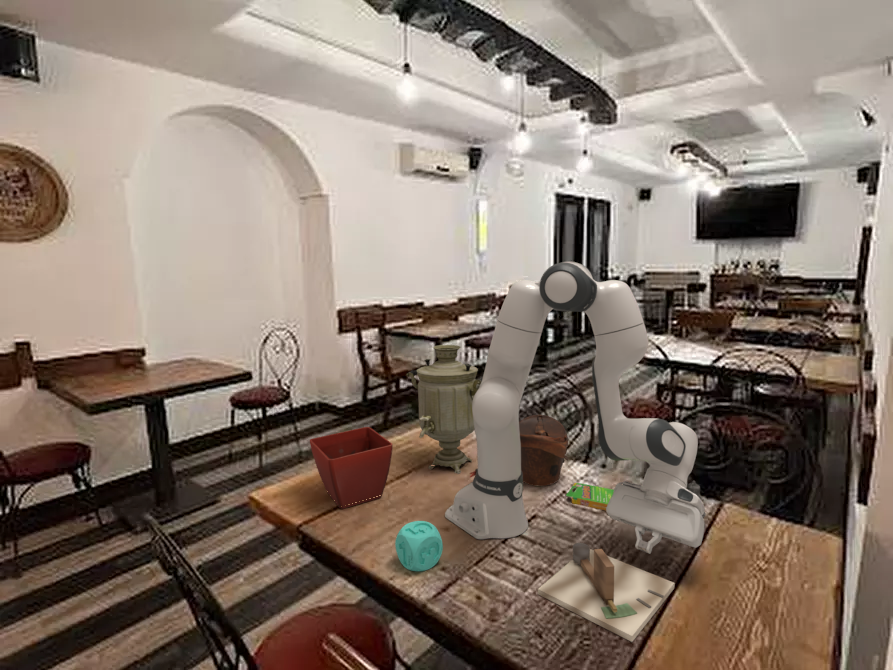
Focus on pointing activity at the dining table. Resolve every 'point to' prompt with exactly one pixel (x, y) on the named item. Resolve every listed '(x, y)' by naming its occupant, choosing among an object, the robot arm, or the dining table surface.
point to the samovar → (446, 403)
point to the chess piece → (695, 491)
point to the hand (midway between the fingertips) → (642, 550)
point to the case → (542, 449)
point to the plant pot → (353, 465)
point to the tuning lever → (597, 571)
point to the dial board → (632, 596)
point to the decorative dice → (419, 545)
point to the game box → (590, 495)
